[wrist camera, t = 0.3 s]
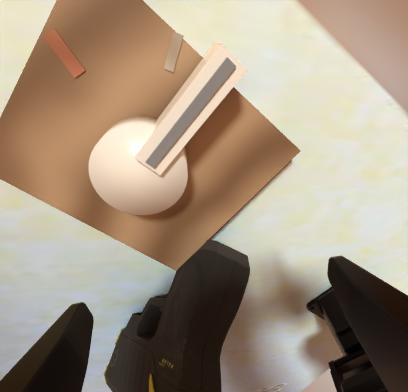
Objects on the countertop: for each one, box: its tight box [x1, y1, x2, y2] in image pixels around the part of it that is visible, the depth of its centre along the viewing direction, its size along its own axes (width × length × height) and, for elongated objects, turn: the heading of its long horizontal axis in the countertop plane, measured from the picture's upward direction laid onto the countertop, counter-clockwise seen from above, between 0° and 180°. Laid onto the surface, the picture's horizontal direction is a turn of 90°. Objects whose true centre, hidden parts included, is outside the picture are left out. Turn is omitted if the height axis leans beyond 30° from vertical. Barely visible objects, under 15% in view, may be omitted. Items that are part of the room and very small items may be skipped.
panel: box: [0, 0, 300, 270], centre depth 19 cm, size 17×15×2 cm
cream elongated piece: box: [88, 43, 247, 215], centre depth 16 cm, size 12×6×3 cm, turn 140°
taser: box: [104, 240, 250, 392], centre depth 25 cm, size 4×18×15 cm
